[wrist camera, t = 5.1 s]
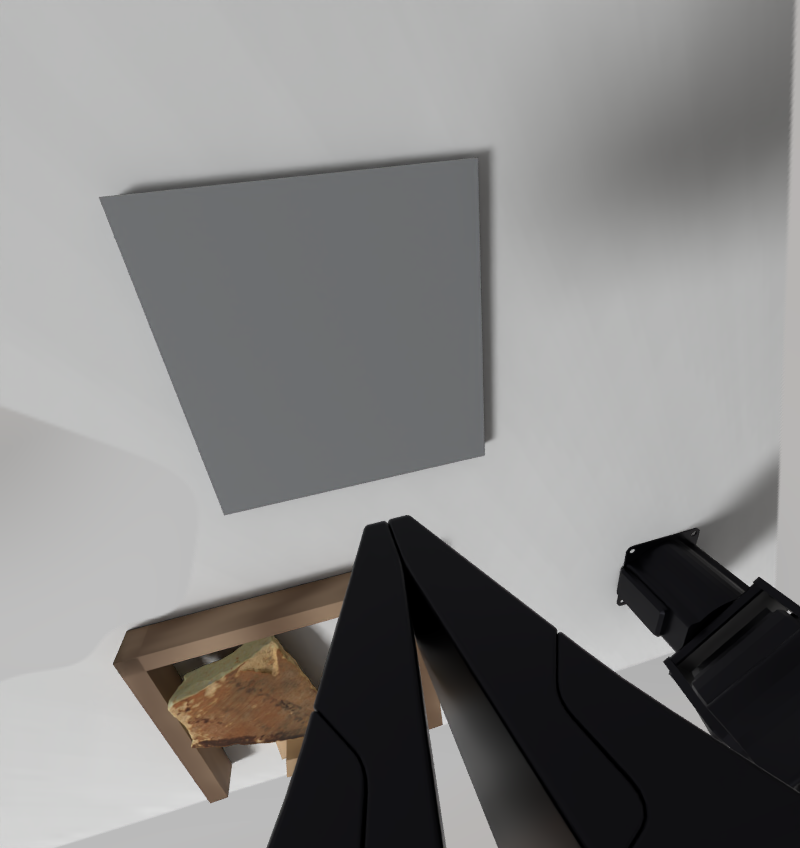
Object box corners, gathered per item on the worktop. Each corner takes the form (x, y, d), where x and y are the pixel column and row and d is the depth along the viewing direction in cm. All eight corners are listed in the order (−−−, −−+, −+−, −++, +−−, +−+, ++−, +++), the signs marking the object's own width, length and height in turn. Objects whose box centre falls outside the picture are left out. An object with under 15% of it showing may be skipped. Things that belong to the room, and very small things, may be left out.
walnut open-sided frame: (415, 554, 26) (424, 578, 24) (434, 698, 33) (442, 724, 31) (126, 631, 23) (112, 664, 21) (215, 769, 30) (210, 803, 28)
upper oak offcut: (369, 719, 30) (372, 741, 29) (367, 735, 31) (371, 757, 30) (286, 736, 29) (286, 760, 27) (287, 753, 30) (287, 777, 28)
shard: (343, 712, 30) (349, 736, 28) (245, 775, 28) (246, 804, 27) (275, 620, 25) (277, 643, 23) (153, 690, 24) (147, 719, 22)
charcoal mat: (468, 161, 17) (477, 157, 16) (477, 446, 23) (484, 455, 22) (110, 199, 15) (98, 197, 14) (227, 503, 21) (224, 515, 20)
